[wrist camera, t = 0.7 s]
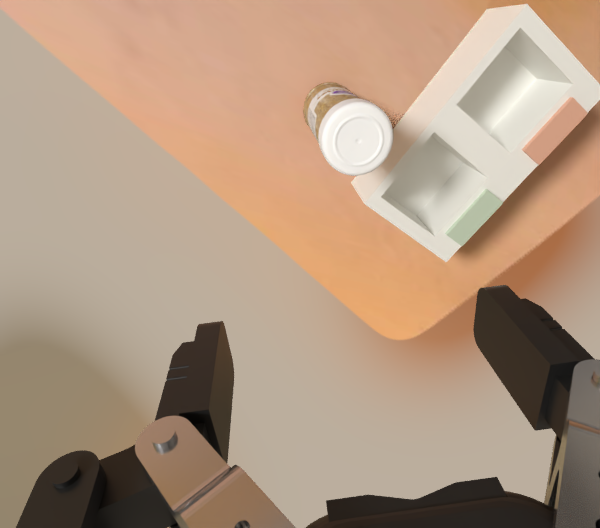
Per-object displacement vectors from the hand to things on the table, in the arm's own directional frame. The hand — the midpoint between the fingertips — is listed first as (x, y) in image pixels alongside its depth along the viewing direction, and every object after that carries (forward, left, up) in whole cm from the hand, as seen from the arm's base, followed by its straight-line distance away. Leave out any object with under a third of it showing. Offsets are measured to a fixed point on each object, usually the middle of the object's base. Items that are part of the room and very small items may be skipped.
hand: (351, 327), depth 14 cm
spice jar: (-4, +1, -29) cm, 30 cm away
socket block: (-9, +12, -29) cm, 33 cm away
